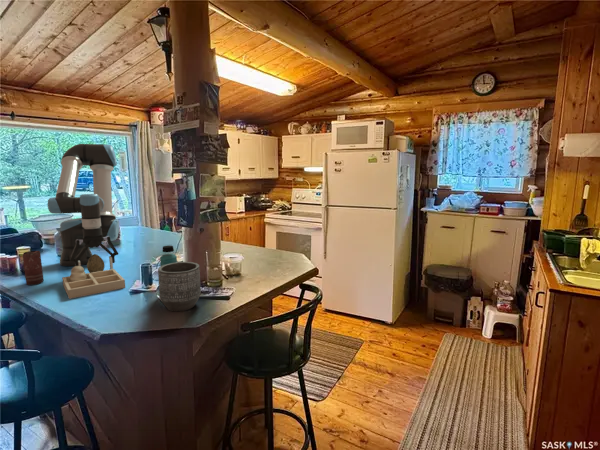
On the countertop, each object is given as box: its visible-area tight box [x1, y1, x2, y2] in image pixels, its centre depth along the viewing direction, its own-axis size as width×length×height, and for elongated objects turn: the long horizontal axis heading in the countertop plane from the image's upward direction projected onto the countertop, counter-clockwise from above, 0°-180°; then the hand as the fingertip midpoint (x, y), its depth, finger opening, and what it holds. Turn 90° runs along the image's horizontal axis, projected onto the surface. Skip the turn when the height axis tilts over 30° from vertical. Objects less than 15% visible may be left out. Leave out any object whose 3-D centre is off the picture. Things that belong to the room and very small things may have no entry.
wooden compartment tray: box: [62, 268, 126, 300], centre depth 148 cm, size 20×20×4 cm
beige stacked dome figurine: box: [69, 265, 87, 282], centre depth 148 cm, size 6×6×8 cm
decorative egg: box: [86, 253, 105, 273], centre depth 163 cm, size 7×7×10 cm
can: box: [22, 250, 44, 286], centre depth 151 cm, size 6×6×14 cm
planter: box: [157, 261, 202, 312], centre depth 126 cm, size 14×14×15 cm
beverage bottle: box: [159, 244, 178, 267], centre depth 137 cm, size 6×7×20 cm
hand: (96, 272), depth 164 cm, fingers open, 12 cm apart
